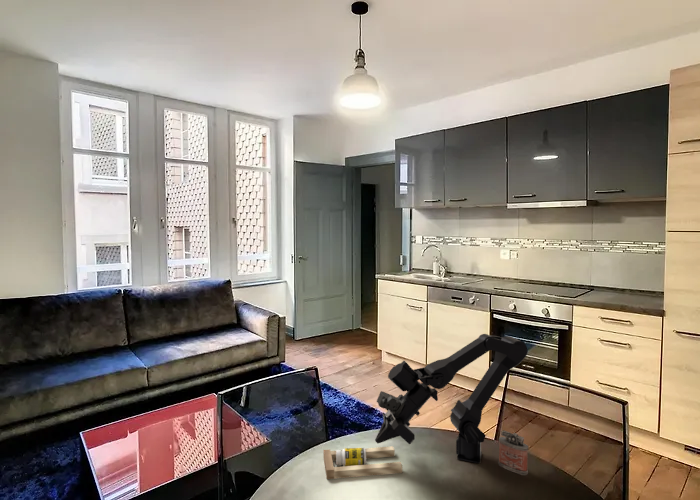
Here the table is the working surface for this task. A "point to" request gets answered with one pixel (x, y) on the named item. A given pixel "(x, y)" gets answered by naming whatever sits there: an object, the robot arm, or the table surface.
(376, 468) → the cradle
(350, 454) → the supplement bottle
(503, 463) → the lighter
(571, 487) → the table surface
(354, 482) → the table surface
